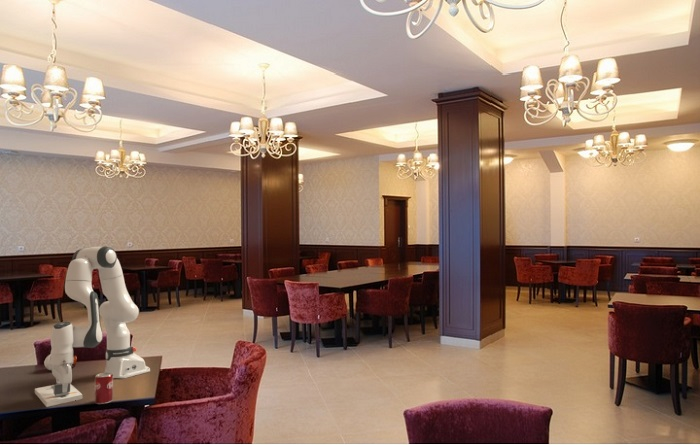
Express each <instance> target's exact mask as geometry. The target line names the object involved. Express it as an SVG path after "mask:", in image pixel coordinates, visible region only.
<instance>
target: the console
mask: <svg viewBox="0 0 700 445" xmlns="http://www.w3.org/2000/svg"><path fill="white" fill-rule="evenodd" d="M34 394H35V395H36V397H37V398H39V400H40V401H41V402H42V404H43V405H44V406H45V407H46V408H48V407H53V406H56V405H61V404H66V403H71V402H76V401H79V400H83V394H82V393H81V392H80V391H79V390H78V389H77V388H76V387H75V386H74V385H72V383H70V392H69V394H68V395H63V396H58V397H56V396H55V395H54V384H52V385H51V384H50V385H46V386H42V387H37V388H34ZM75 400H76V401H75Z"/></svg>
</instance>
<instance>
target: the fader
mask: <svg viewBox="0 0 700 445" xmlns="http://www.w3.org/2000/svg"><path fill="white" fill-rule="evenodd" d="M70 384H71V383H69V384H68V387H67V392H65V393H63V392H62V383H59V384H57V383H55V384H53V385H54V395H55V396H56V397H58V396H63V395H68V394H69V392H70Z"/></svg>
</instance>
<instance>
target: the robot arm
mask: <svg viewBox="0 0 700 445" xmlns="http://www.w3.org/2000/svg"><path fill="white" fill-rule="evenodd" d="M96 269H97V270H98V276H99V280H100V286H101V289H102V290H101V291H102V294H103V295H104V296H105V297H106V299H107V301H104V302H102V303H101V304H100V302H99V301H100V300H99V297H98V293H97V292H95V291H94V289H93V286H92V283H93V282H92V281H93V271H94V270H96ZM64 282H65V283H64V291H65V294H66V295H67V297H68V298H70V299H72V300H74V301H76V302H78V303H81V304H83V305H84V306H85V307H86V309H87V320H88V323H87V324H88V325H87V326H86V325H82V326H79V325H78V326H76V325H73V323H72V322H71V321H62V322H61V321H60V322H56V323H55V324H54V325H52V327H51V328H52V329H51V333H50V346H51V350H50V354H51V356H50V361H51V365H52V371H51V373H52V376H53V377H54V378H55V380H56V384H59V383H62V392H63V393H65V392H67V387H68V384H69V383H70V384H72V381H73V374H72V373H73V371H72V366H70V363H71V362H73V357H74V348H90V349H94V348H96V347H97V346H98V345H100V344H101V343H102V341H103V337H104V336H103V329H102V326H101V318H102V320H103V321H102V322H103V324H104V327H105V332H106V333H105V334H106V349H105V369H104V372H103V373H112V374H113V379H127V378H131V377H134V376H138V375H141V374H145V373H149V372H151V368H150V367H149V366H147V365H146V362H145V360H144V358H143V357H141V356H140V355H138V354H137V353H135V352H137V350H138V349H137V347H135V346H131V332H130V330H129V328H128V326H127V324H126V323H131V322H134V321H136V319H137V318H138V317H139V312H140V309H139V308H138V306H137V305H136V304H135V302H134V301H133V300H132V297H131V296H130V294H129V291H128V289H127V286H126V283H125V277H124V273H123V269H122V266H121V262H120V260H119V259H118V256H117V252H116V251H115V249H114V248H112V247H110V246H92V247H83V248H80V249H78V250H75V251H74V252H73V256H72V259H71V260H70V263H69V264H68V267H67V271H66V276H65V281H64Z"/></svg>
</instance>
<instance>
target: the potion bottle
mask: <svg viewBox="0 0 700 445" xmlns="http://www.w3.org/2000/svg"><path fill="white" fill-rule="evenodd" d="M50 356H51V353H50V354H48V355H47V356H46V358H45V360H44V361H43V363H44V368H46V370H48V371H51V372H52V365H51V361H50ZM76 365H77V355H73V362H71V363H70V366H71V367H72V366H73V367H74V368H75V367H76Z"/></svg>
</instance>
